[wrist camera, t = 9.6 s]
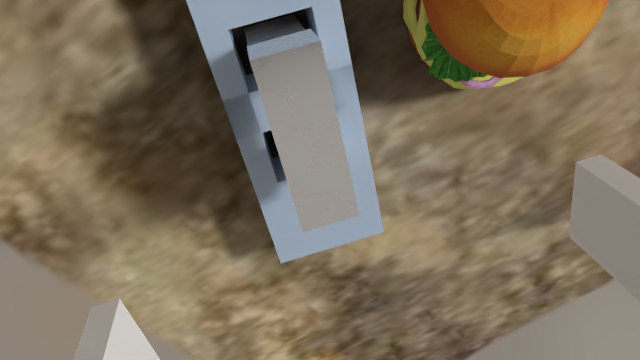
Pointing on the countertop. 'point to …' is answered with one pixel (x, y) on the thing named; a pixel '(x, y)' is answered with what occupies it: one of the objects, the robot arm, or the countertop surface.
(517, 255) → the countertop surface
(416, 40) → the cheeseburger
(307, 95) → the clip
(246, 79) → the rail
